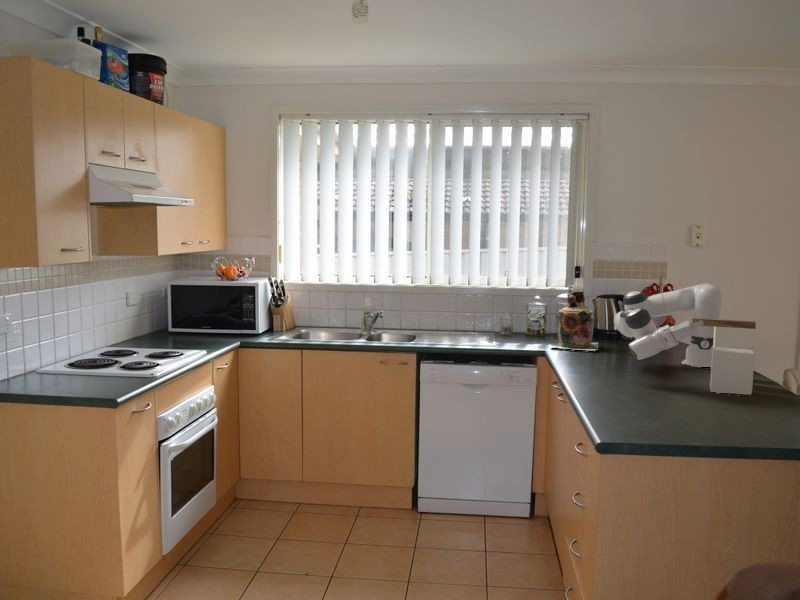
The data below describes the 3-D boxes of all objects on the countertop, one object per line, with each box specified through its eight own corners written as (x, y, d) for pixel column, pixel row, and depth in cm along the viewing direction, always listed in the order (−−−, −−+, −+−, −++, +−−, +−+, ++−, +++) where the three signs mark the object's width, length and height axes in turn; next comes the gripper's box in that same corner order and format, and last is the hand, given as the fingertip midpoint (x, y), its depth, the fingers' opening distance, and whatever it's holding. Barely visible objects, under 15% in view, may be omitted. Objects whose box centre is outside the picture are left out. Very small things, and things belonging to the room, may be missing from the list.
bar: (692, 324, 259) (692, 318, 259) (754, 328, 251) (755, 321, 250) (692, 325, 257) (692, 318, 256) (755, 328, 248) (755, 322, 248)
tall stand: (710, 380, 277) (714, 319, 274) (748, 383, 271) (752, 321, 269) (711, 384, 267) (716, 322, 265) (750, 388, 262) (754, 324, 260)
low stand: (709, 387, 262) (712, 347, 261) (749, 391, 257) (752, 350, 255) (710, 392, 253) (713, 350, 252) (751, 396, 248) (754, 353, 246)
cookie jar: (553, 343, 370) (555, 287, 367) (598, 346, 362) (601, 289, 359) (549, 350, 346) (552, 290, 343) (597, 353, 339) (600, 292, 336)
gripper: (673, 339, 271) (706, 325, 265) (672, 346, 252) (707, 331, 247) (665, 326, 272) (698, 311, 266) (664, 332, 253) (699, 316, 247)
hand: (703, 321), depth 256 cm, fingers closed on bar, 3 cm apart
